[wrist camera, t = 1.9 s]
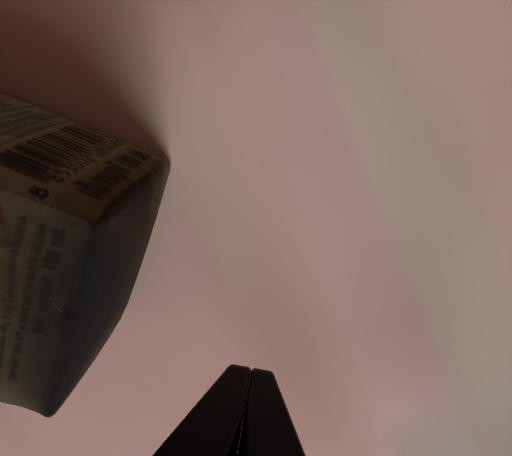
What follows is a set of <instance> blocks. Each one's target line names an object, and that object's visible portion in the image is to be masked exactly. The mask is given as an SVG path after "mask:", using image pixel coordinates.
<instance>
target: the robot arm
mask: <svg viewBox="0 0 512 456" xmlns="http://www.w3.org/2000/svg"><path fill="white" fill-rule="evenodd" d="M250 373H251V375H250ZM249 379H250V381H249ZM248 385H249V387H248ZM247 392H248V393H247ZM246 398H247V399H246ZM245 404H246V405H245ZM244 410H245V411H244ZM243 416H244V417H243ZM242 422H243V423H242ZM241 428H242V429H241ZM240 434H241V435H240ZM239 440H240V441H239ZM238 446H239V447H238ZM237 452H238V453H237ZM153 456H305V453H304V451H303V448H302V445H301V443H300V440H299V438H298V435H297V433H296V430H295V428H294V425H293V422H292V420H291V417H290V415H289V412H288V410H287V407H286V404H285V402H284V399H283V397H282V394H281V392H280V389H279V387H278V384H277V381H276V379H275V376H274V374H273V373H272V372H271V371H268V370H263V369H257V368H254V369H252V370H251V369H250V368H249V367H246V366H240V365H235V364H232V365H230V366H229V367H228V368H227V369H226V370H225V371H224V372H223V374H222V375H221V376H220V377H219V378H218V379H217V381H216V382H215V383H214V384H213V385H212V386H211V388H210V389H209V390H208V391H207V392H206V393H205V395H204V396H203V397H202V398H201V399H200V400H199V402H198V403H197V404H196V405H195V406H194V407H193V409H192V410H191V411H190V412H189V413H188V415H187V416H186V417H185V418H184V419H183V420H182V422H181V423H180V424H179V425H178V426H177V427H176V429H175V430H174V431H173V432H172V433H171V434H170V436H169V437H168V438H167V439H166V440H165V441H164V443H163V444H162V445H161V446H160V447H159V449H158V450H157V451H156V452H155V453H154V454H153Z"/></svg>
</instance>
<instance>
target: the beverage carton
mask: <svg viewBox="0 0 512 456" xmlns="http://www.w3.org/2000/svg"><path fill="white" fill-rule="evenodd" d="M169 172H170V163H169V161H168V160H166V159H165V158H162V157H159V156H156V155H153V154H151V153H149V152H146V151H144V150H142V149H140V148H138V147H136V146H134V145H131V144H129V143H127V142H124V141H122V140H119V139H117V138H114V137H112V136H110V135H107V134H105V133H102V132H100V131H98V130H95V129H93V128H90V127H88V126H85V125H83V124H81V123H78V122H76V121H73V120H70V119H68V118H65V117H63V116H60V115H58V114H55V113H53V112H50V111H47V110H45V109H42V108H40V107H37V106H35V105H32V104H30V103H27V102H24V101H22V100H19V99H17V98H14V97H12V96H9V95H6V94H4V93H1V92H0V402H3V403H7V404H12V405H16V406H21V407H24V408H27V409H29V410H32V411H35V412H38V413H40V414H42V415H43V416H45V417H49V418H50V417H51V416H53V415H54V414H55V413H56V412H57V411H58V409H59V408H60V407H61V406H62V404H63V403H64V402H65V400H66V399H67V398H68V396H69V395H70V394H71V392H72V391H73V389H74V388H75V387H76V385H77V384H78V382H79V381H80V380H81V378H82V377H83V376H84V374H85V373H86V371H87V370H88V368H89V367H90V366H91V364H92V363H93V361H94V360H95V358H96V357H97V355H98V354H99V352H100V351H101V349H102V347H103V346H104V344H105V343H106V341H107V340H108V338H109V337H110V335H111V334H112V332H113V330H114V329H115V327H116V325H117V324H118V322H119V320H120V319H121V316H122V314H123V312H124V310H125V308H126V306H127V303H128V300H129V298H130V295H131V292H132V290H133V287H134V284H135V281H136V278H137V275H138V272H139V269H140V266H141V263H142V260H143V257H144V254H145V251H146V248H147V245H148V242H149V239H150V236H151V233H152V229H153V226H154V223H155V220H156V216H157V213H158V209H159V206H160V203H161V199H162V196H163V192H164V189H165V186H166V182H167V179H168V175H169Z"/></svg>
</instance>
